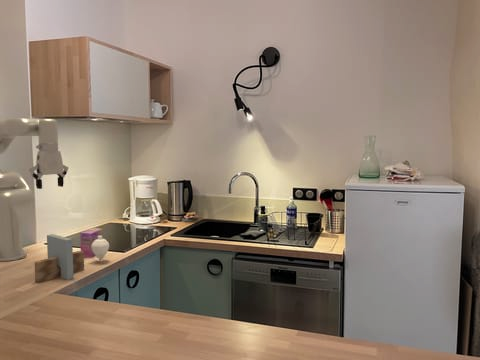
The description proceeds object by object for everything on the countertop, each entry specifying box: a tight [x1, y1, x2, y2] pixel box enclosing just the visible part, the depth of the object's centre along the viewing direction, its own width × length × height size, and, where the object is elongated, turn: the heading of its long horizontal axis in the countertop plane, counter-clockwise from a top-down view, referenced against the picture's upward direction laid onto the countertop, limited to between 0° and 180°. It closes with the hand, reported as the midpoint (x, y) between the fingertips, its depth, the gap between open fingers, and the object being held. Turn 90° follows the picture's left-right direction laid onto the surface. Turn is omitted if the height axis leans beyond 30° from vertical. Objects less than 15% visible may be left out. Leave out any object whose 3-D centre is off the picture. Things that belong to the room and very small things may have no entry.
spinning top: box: [91, 235, 110, 263], centre depth 190 cm, size 8×8×12 cm
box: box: [79, 227, 103, 259], centre depth 202 cm, size 10×6×12 cm, turn 168°
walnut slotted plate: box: [34, 250, 85, 284], centre depth 171 cm, size 20×2×8 cm, turn 144°
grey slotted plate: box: [46, 233, 74, 281], centre depth 171 cm, size 14×2×16 cm, turn 55°
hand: (50, 187), depth 183 cm, fingers open, 9 cm apart
